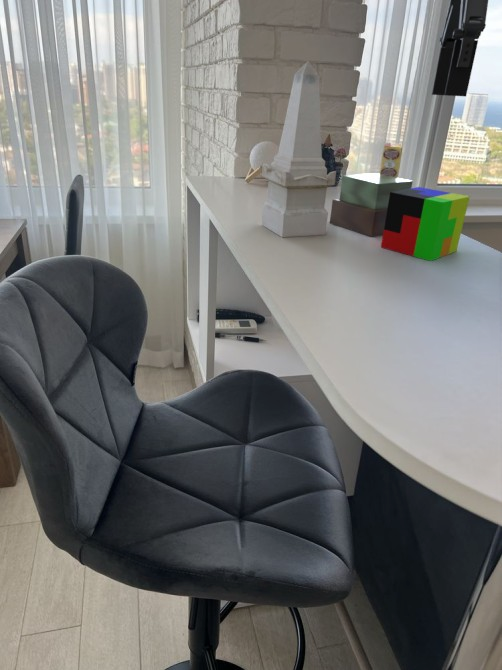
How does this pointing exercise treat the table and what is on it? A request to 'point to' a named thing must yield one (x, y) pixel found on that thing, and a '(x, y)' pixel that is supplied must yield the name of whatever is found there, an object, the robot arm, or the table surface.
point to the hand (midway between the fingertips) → (447, 95)
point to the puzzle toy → (424, 222)
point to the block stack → (365, 202)
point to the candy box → (391, 159)
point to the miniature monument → (299, 166)
